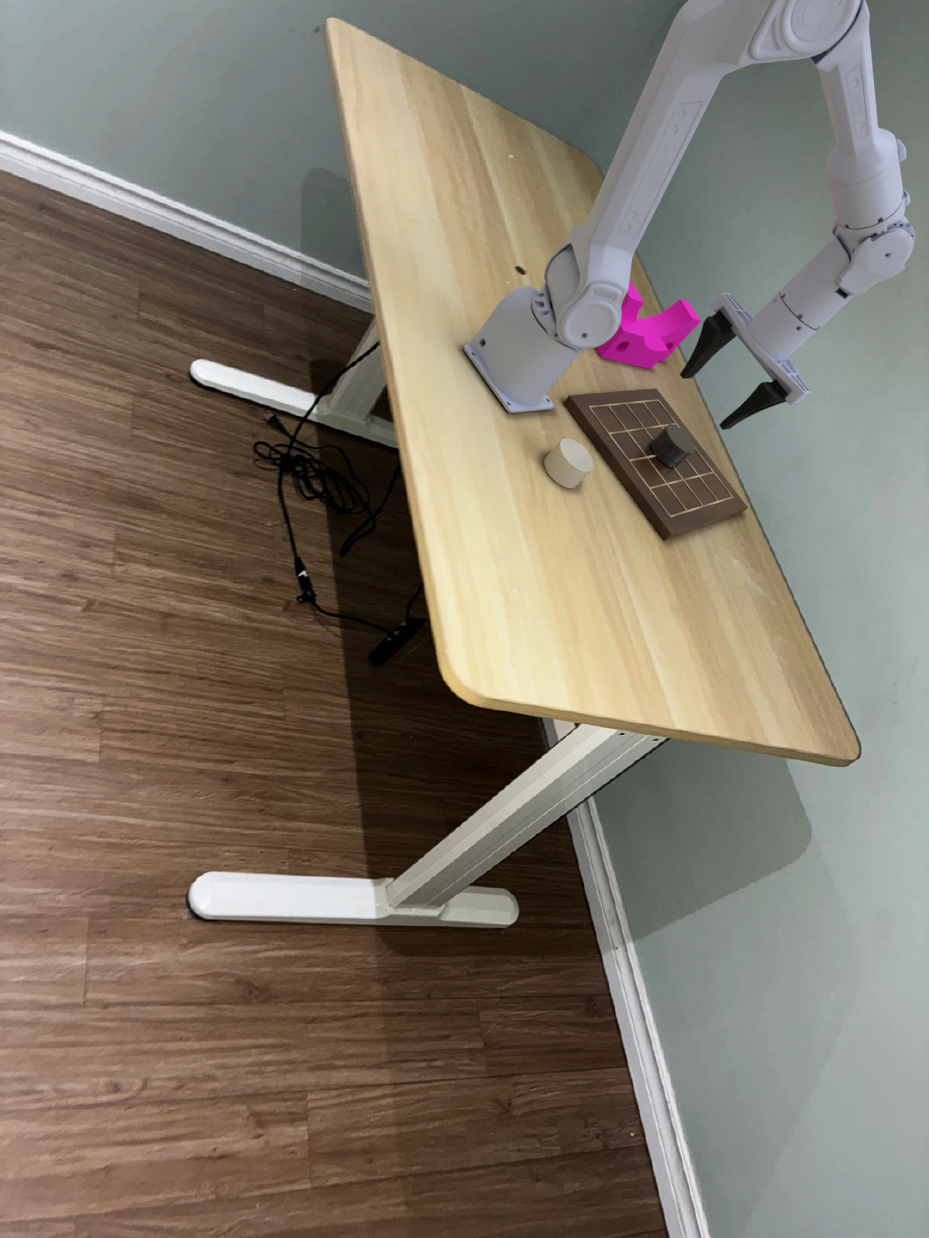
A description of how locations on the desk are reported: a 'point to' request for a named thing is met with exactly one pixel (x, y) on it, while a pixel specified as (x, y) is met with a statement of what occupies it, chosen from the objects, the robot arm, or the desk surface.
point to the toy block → (648, 332)
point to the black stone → (672, 446)
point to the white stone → (568, 463)
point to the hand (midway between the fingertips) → (704, 401)
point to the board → (655, 461)
